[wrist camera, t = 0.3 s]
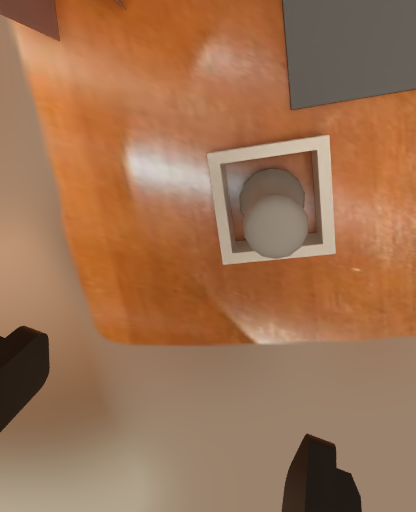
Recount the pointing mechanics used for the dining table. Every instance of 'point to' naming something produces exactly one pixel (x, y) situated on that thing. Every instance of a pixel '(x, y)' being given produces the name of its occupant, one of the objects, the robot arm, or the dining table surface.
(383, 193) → the dining table surface
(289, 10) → the mat
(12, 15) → the greeting card
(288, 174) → the salt shaker
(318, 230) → the collar
